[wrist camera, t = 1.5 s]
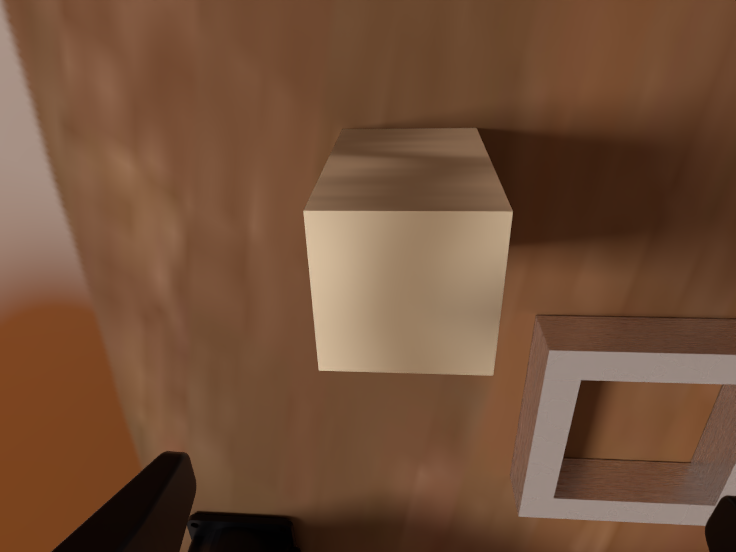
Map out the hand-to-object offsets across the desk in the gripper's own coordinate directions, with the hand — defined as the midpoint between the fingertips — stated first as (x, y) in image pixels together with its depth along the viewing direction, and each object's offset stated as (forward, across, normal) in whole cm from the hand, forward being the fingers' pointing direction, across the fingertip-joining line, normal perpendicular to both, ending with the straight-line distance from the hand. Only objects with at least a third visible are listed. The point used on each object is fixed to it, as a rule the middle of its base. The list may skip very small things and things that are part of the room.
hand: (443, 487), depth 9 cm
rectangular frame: (+13, -10, +11) cm, 20 cm away
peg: (+14, +1, 0) cm, 14 cm away
